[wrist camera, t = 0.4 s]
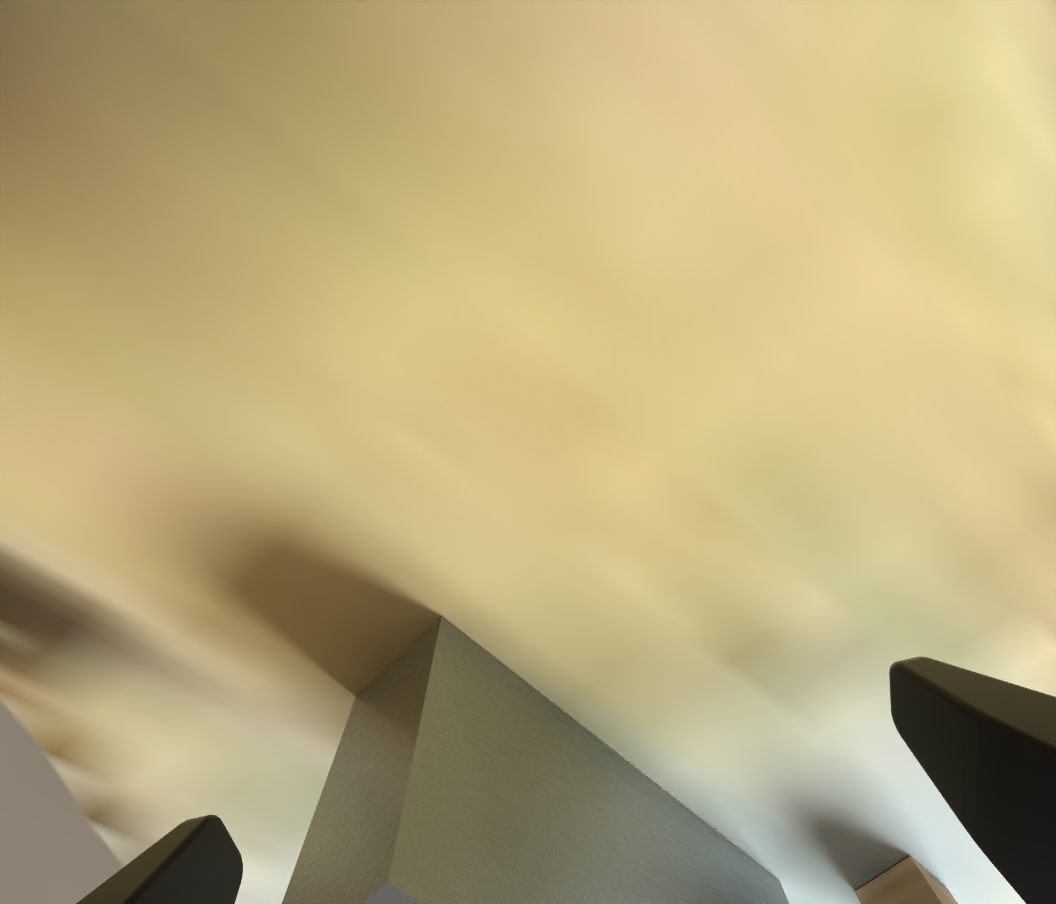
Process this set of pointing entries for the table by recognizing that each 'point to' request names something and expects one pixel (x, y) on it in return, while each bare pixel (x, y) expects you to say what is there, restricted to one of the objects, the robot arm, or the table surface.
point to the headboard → (905, 887)
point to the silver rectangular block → (499, 802)
